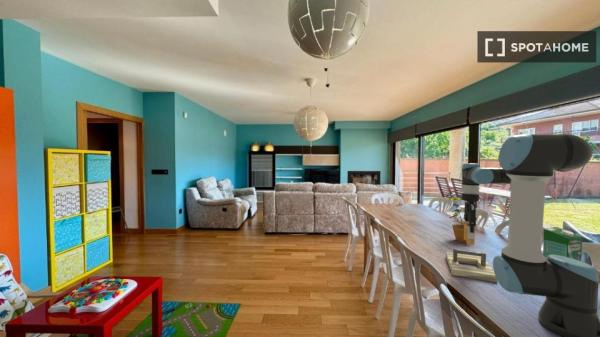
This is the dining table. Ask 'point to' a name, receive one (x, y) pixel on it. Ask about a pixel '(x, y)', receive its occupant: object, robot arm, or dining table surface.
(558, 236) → the milk carton
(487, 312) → the dining table surface
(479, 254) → the gray u-shaped bracket
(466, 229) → the orange u-shaped bracket
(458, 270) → the beige open frame
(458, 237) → the potted plant
